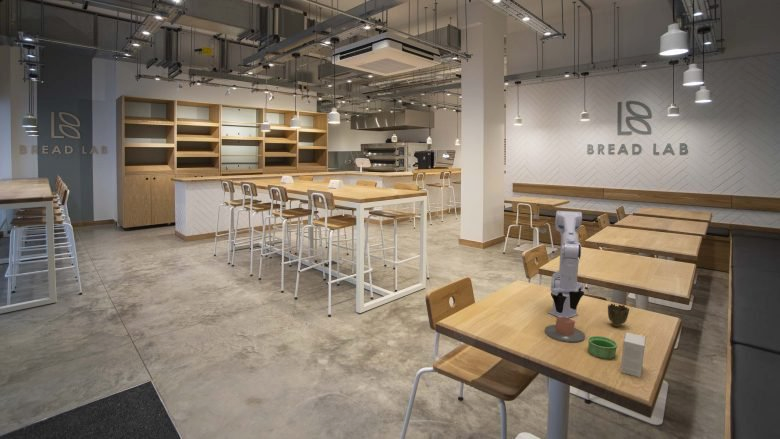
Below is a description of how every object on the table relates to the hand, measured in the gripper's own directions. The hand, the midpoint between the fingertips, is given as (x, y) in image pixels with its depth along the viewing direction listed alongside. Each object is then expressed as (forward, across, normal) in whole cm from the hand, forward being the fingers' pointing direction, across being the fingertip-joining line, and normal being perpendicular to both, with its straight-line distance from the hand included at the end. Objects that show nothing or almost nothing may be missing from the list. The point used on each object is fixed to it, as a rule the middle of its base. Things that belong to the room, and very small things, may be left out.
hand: (566, 310), depth 152 cm
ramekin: (+10, -1, -16) cm, 19 cm away
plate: (+9, 0, 0) cm, 9 cm away
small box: (+10, -2, -28) cm, 29 cm away
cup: (+10, +25, -4) cm, 27 cm away
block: (+9, 0, 0) cm, 9 cm away
